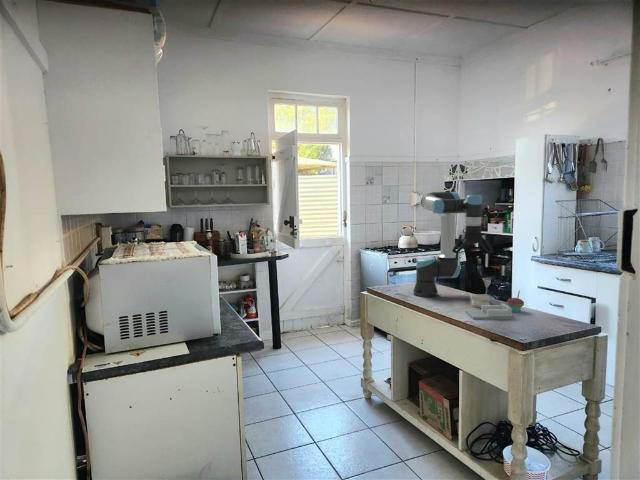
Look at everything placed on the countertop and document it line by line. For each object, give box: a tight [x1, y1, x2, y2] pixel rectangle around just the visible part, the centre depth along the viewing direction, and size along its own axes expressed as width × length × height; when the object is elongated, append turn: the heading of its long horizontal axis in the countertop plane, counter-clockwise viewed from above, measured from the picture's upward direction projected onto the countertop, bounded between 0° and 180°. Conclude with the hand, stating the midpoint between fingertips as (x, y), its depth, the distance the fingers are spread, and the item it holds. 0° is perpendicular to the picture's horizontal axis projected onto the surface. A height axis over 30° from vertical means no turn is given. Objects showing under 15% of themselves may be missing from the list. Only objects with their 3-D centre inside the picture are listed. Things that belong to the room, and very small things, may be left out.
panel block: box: [469, 294, 491, 308], centre depth 235 cm, size 5×9×6 cm, turn 87°
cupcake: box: [506, 289, 525, 313], centre depth 223 cm, size 9×8×12 cm
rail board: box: [464, 302, 515, 321], centre depth 216 cm, size 14×20×5 cm
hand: (472, 266), depth 215 cm, fingers open, 13 cm apart
